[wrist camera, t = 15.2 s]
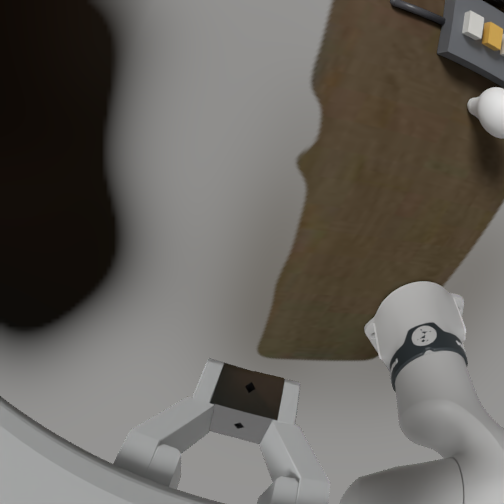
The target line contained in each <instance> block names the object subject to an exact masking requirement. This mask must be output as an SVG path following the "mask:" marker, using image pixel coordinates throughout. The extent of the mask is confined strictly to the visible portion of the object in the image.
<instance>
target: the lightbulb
mask: <svg viewBox="0 0 504 504" xmlns="http://www.w3.org/2000/svg"><path fill="white" fill-rule="evenodd" d="M467 107H468V110H469V112H470V113H471V114H472V115H474V116H476V117H477V118H478V119H479V121H480V123H481V125H482V126H483V128H484V129H485V130H486V131H487V132H488V133H490V134H491V135H493V136H494V137H497V138H504V89H503V88H499V87H492V88H489V89H487V90H485V91H484V92H483V93H482V94H481V95H480V97H477V98H471V99H470V100H469V101H468V104H467Z"/></svg>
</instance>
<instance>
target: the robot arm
mask: <svg viewBox="0 0 504 504" xmlns="http://www.w3.org/2000/svg"><path fill="white" fill-rule="evenodd" d="M463 307H464V300H463V297H462V296H461V295H458V294H452V293H450V292H448V291H447V290H446V289H445V288H444V287H442V286H440V285H438V284H436V283H433V282H426V281H421V282H414V283H410V284H407V285H404V286H402V287H400V288H398V289H396V290H395V291H393V292H392V293H391V294H389V295H388V296H387V297H386V298H385V299H384V301H383V302H382V303H381V305H380V306H379V308H378V311H377V313H376V315H375V316H374V318H372V319H371V320H370V321H369V322H368V323H367V324H366V325H365V327H364V330H365V334H366V335H367V337H368V338H369V340H370V341H371V343H372V345H373V346H374V348H375V349H376V351H377V352H378V355H379V358H380V360H382V361H383V363H384V364H385V365H386V367H387V368H388V370H389V371H390V379H391V383H392V386H393V389H394V391H395V392H396V398H397V407H398V417H399V425H400V428H401V430H402V432H403V433H404V434H405V436H406V437H407V438H408V439H409V440H411V441H412V442H414V443H416V444H418V445H421V446H425V447H428V448H431V449H433V450H435V451H436V452H438V453H439V454H440V455H441V456H442V457H443V458H444V459H440V460H435V461H430V462H424V463H419V464H413V465H406V466H398V467H394V468H391V469H387V470H383V471H380V472H376V473H373V474H369V475H366V476H362V477H359V478H358V479H357V480H355V481H354V482H353V483H352V484H351V485H350V487H349V488H348V489H347V491H346V492H345V494H344V495H343V497H342V499H341V501H340V504H504V428H502V427H501V426H500V425H499V424H498V423H496V422H495V421H494V420H493V419H492V417H490V416H489V414H488V413H487V412H486V410H485V409H484V407H483V406H482V404H481V402H480V401H479V399H478V396H477V394H476V391H475V389H474V386H473V384H472V381H471V378H470V375H469V372H468V369H467V364H468V363H467V357H466V352H465V349H464V344H463V341H465V339H466V336H465V334H466V328H465V325H464V322H463V320H462V314H463ZM373 333H374V334H373ZM299 392H300V383H299V382H297V381H293V380H288V379H284V378H281V377H276V376H273V375H268V374H264V373H260V372H256V371H250V370H247V369H243V368H240V367H237V366H234V365H230V364H227V363H224V362H221V361H217V360H214V359H211V358H209V359H208V361H207V363H206V365H205V367H204V370H203V372H202V375H201V377H200V380H199V382H198V385H197V387H196V389H195V392H194V395H193V397H189V396H187V397H186V398H184V399H182V400H181V401H179V402H178V403H176V404H174V405H173V406H171V407H169V408H168V409H166V410H164V411H162V412H161V413H159V414H157V415H155V416H154V417H152V418H150V419H148V420H147V421H145V422H143V423H142V424H140V425H138V426H136V427H134V428H133V429H131V430H130V432H129V434H128V436H127V438H126V440H125V441H124V444H123V445H122V447H121V449H120V451H119V453H118V455H117V457H116V459H115V461H114V463H113V464H112V463H109V462H107V461H105V460H103V459H101V458H99V457H97V456H95V455H93V454H91V453H89V452H87V451H85V450H84V449H82V448H80V447H78V446H76V445H74V444H72V443H71V442H69V441H67V440H65V439H64V438H62V437H60V436H59V435H57V434H55V433H53V432H52V431H50V430H49V429H47V428H45V427H44V426H42V425H41V424H39V423H38V422H36V421H34V420H33V419H32V418H30V417H28V416H27V415H26V414H24V413H23V412H21V411H20V410H18V409H17V408H16V407H14V406H13V405H11V404H10V403H9V402H7V401H6V400H5V399H3V398H2V397H1V396H0V504H224V503H220V502H217V501H213V500H209V499H206V498H202V497H199V496H195V495H192V494H189V493H186V492H183V491H180V490H177V486H178V484H179V481H180V477H181V453H183V452H184V451H185V450H187V449H188V448H189V447H191V446H192V445H193V444H195V443H196V442H197V441H198V440H200V439H201V438H202V437H204V436H205V435H206V434H208V433H209V431H212V432H216V433H219V434H223V435H227V436H231V437H235V438H239V439H242V440H246V441H249V442H253V443H257V444H260V445H259V446H260V449H261V451H262V454H263V457H264V460H265V463H266V465H267V468H268V470H269V473H270V476H271V478H272V481H273V483H272V484H271V485H270V486H269V488H268V489H267V490H266V491H265V492H264V493H263V494H262V495H261V496H260V497H259V498H258V502H257V504H328V499H329V490H330V481H329V480H328V478H327V476H326V474H325V472H324V470H323V468H322V467H321V465H320V463H319V461H318V459H317V457H316V456H315V454H314V452H313V450H312V449H311V446H310V445H309V443H308V441H307V439H306V437H305V435H304V433H303V431H302V429H301V428H300V426H298V425H295V422H296V415H297V407H298V400H299Z"/></svg>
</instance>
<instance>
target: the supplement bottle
mask: <svg viewBox="0 0 504 504" xmlns="http://www.w3.org/2000/svg"><path fill="white" fill-rule="evenodd" d="M486 1H487V2H488V3H490V4H491V5H493V6H495V7H499V8H504V0H486Z"/></svg>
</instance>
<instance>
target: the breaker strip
mask: <svg viewBox="0 0 504 504" xmlns="http://www.w3.org/2000/svg"><path fill="white" fill-rule="evenodd" d="M390 3H391V5H393V6H395V7H398V8H401V9H404V10H406V11H409V12H412V13H414V14H417V15H419V16H422V17H424V18H427V19H429V20H431V21H434V22H436V23H438V24H441V25H442V28H441V34H440V39H439V45H438V50H437V54H439V55H441V56H443V57H446V58H448V59H450V60H452V61H454V62H456V63H458V64H460V65H462V66H464V67H466V68H468V69H470V70H472V71H474V72H476V73H478V74H480V75H482V76H484V77H485V78H487V79H489V80H491V81H493V82H494V83H496V84H498V85H500V86H501V87H503V88H504V13H503V12H501V11H500V10H498V9H496V8H495V7H493V6H491V5H490V4H488V3H486V2H484V1H483V0H445V8H444V15H443V17H441V16H439V15H437V14H434V13H432V12H430V11H427V10H425V9H422V8H420V7H417V6H415V5H412V4H410V3H407V2H404V1H401V0H390Z"/></svg>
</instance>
